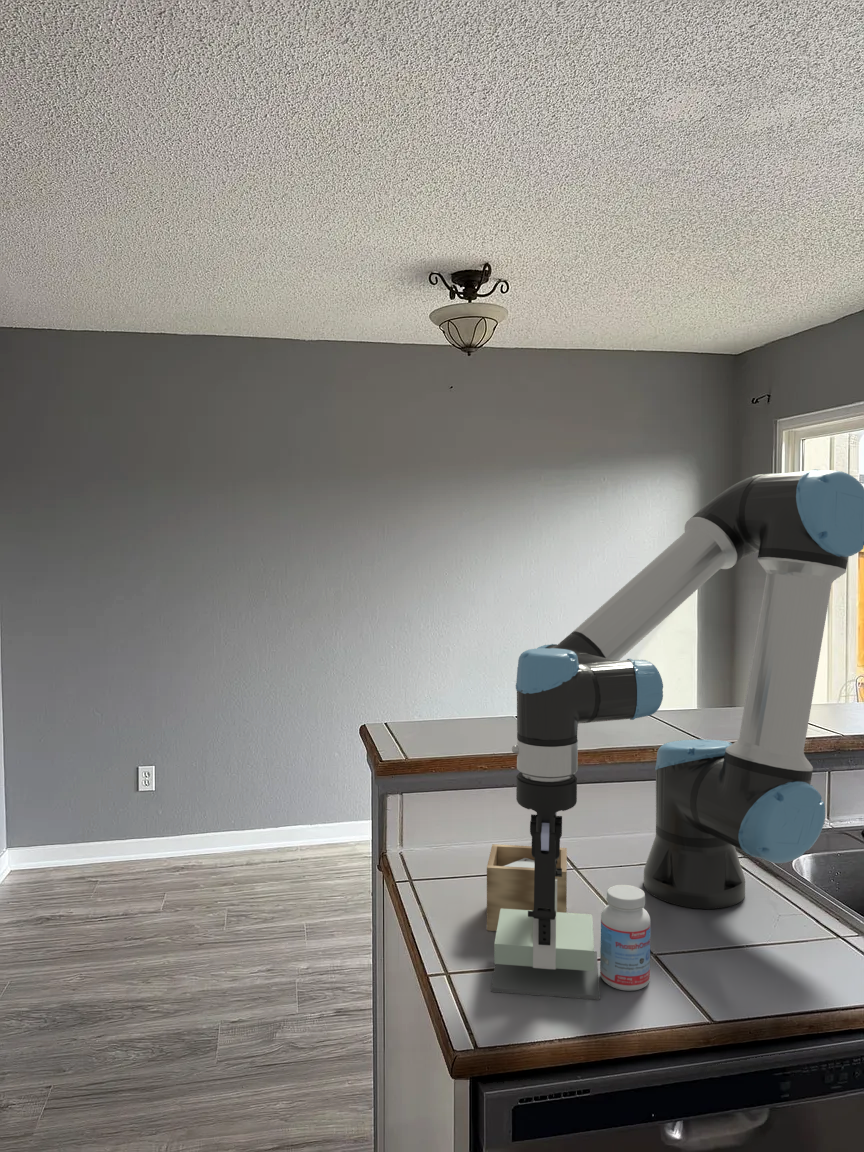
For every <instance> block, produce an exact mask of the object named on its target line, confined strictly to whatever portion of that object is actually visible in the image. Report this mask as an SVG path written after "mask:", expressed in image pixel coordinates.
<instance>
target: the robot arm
mask: <svg viewBox="0 0 864 1152" xmlns="http://www.w3.org/2000/svg"><path fill="white" fill-rule="evenodd" d="M863 549H864V486H863V483H861V482H860V481H859V480H858V479H857V478H855V477H854V476H853V475H851V474H849V473H847V472H844V471H841V470H825V469H822V470H821V469H816V468H815V469H810V470H803V471H794V472H791V471H789V472H781V473H762V474H756V475H753V476H750V477H747V478H744V479H743V480H741V481H739V482H737V483H735V484H733V485H731V486H730V487H728V488H727V489H725V490H724V491H723V492H720V494H718V495H716V496H715V497H714V498H713V499H712V500H710V501H709V502H708V503H706V504H705V505H704V506H703V507H701V508H700V509H699V510H698V511H697V512H696V513H695V514H694V515H692V517H690V518H689V519H688V520H687V521H686V522H685V525H684V532H683V533H682V534H681V535H680V536H679V537H677V538H676V540H674V541H673V542H672V543H671V544H670V545H669V546H668V547H666V548H665V550H663V551H662V552H661V553H660V554H658V555H657V556H656V557H655V558H654V559H653V560H652V561H650V562H649V564H647V565H646V566H645V567H644V568H643V569H642V570H641V571H640V572H638V573H637V574H636V575H635V576H634V577H633V578H631V580H629V581H628V582H627V583H626V584H625V585H624V586H622V587H621V588H620V589H619V590H618V591H617V592H616V593H615V594H613V595H612V596H611V597H610V598H609V599H608V600H607V601H605V602H604V604H601V606H600V607H598V608H597V610H596V611H594V612H593V613H592V614H591V615H590V616H589V617H587V619H585V620H584V621H583V622H582V623H581V624H580V625H579V626H577V627H576V628H575V629H574V630H573V631H571V633H569V634H568V635H567V636H566V637H565V638H564V639H563V640H561V641H560V642H559V643H558V644H553V643H551V644H544V645H541V646H540V645H539V647H537V648H531V649H526V650H525V651H523V652H522V653H520V655H519V657H518V659H517V670H516V671H517V672H516V683H515V691H516V739H517V741H516V744H517V745H512V748H511V752H512V753H514V754H517V756H516V769H517V771H519V773H518V774H517V775H516V793H515V794H516V802H517V803H518V805H520V806H521V807H522V808H524V809H527V810H532V811H534V812H536V814H531V813H530V822H529V834H530V836H531V846H532V852H531V853H532V856H533V858H535V867H534V910H533V911H528V917H533V968H542V969H556V912H557V878H555V877H562V868H556V864H557V859H558V858H559V856H560V848H561V838H562V835H563V816H562V815H558V814H557V813H558V812H565V811H568V810H571V809H573V808H574V807H575V806H576V804H577V802H578V801H577V800H578V778H577V776H576V775H575V774H577V771H578V767H579V765H578V761H579V760H578V759H579V757H578V753H579V751H578V748H579V747H578V744H579V742H578V741H579V740H578V730H579V729H578V727H579V726H578V725H579V724H588V723H597V722H610V721H611V722H612V721H624V720H630V721H633V720H635V719H640V718H644V717H650V716H652V715H653V714H655V713H656V712H657V711H658V710H659V709H660V706H661V705H662V703H663V698H664V694H663V693H664V691H663V688H664V682H663V679H662V676H661V673H660V671H659V669H658V667H656V665H655V664H653V663H652V662H651V661H648V660H646V659H632V658H627V659H625V660H622V658H623V657H625V656H626V655H627V654H628V653H629V652H631V650H632V649H633V648H635V647H636V646H637V645H638V644H639V643H640V642H641V641H642V640H644V638H646V637H647V636H648V635H649V634H650V633H651V632H652V631H653V630H654V629H655V628H656V627H658V626H659V625H660V624H661V623H662V622H663V621H664V620H665V619H666V618H668V617H669V616H670V615H671V614H672V613H673V612H674V611H675V610H676V609H677V608H678V607H680V606H681V605H682V604H683V603H684V602H685V601H686V600H687V599H689V597H691V596H692V595H693V594H694V593H695V592H696V591H697V590H698V589H700V587H702V586H703V585H704V584H705V583H706V582H707V581H708V580H709V579H711V578H712V577H713V575H715V574H716V573H717V572H718V571H719V570H721V569H722V570H729V569H731V568H733V566H735V565H736V564H737V563H738V562H740V560H742V559H743V558H746V557H748V556H751V555H754V554H757V562H758V563H759V564H760V566H761V567H762V569H763V570H764V571H765V581H764V587H763V593H762V600H761V604H760V611H759V617H758V623H757V629H756V633H755V634H756V635H755V642H754V646H753V653H752V658H751V663H750V664H751V665H750V670H749V677H748V683H747V689H746V694H745V701H744V706H743V712H742V719H741V724H740V730H739V734H738V735H739V737H738V739H737V740H736V741H734V742H733V743H732V742H730V741H727V740H721V739H720V740H719V739H706V738H705V739H682V740H674V741H669V742H666V743H664V744H661V746H660V747H659V748H658V749H657V752H656V760H655V761H656V762H655V768H654V770H655V836H654V840H653V841H652V842H653V843H652V846H651V848H650V851H649V854H648V857H647V859H646V862H645V866H644V867H643V886H644V888H645V890H646V891H647V892H648V893H649V894H650V895H652V896H654V897H655V898H657V899H659V900H662V901H664V902H666V903H669V904H672V905H676V906H681V907H686V908H693V909H704V910H705V909H707V910H711V909H723V908H724V909H725V908H728V907H733V906H735V905H738V904H739V903H740V902H742V901H743V900H744V899H745V897H746V878H745V874H744V871H743V868H742V866H741V861H740V858H739V855H738V853H737V849H736V848H738V849H740V850H742V851H743V852H744V853H745V854H747V855H749V856H751V857H753V858H760V859H762V860H765V861H767V862H770V863H774V864H785V863H790V862H793V861H795V860H797V859H799V858H801V857H802V856H803V855H804V854H805V852H806V851H809V850H810V849H811V848H812V847H813V846H814V844H815V843H816V841H818V839H819V837H820V835H821V833H822V830H823V828H824V824H825V819H826V807H825V806H826V805H825V802H824V801H823V800H822V799H823V798H822V795H821V793H820V792H819V791H818V790H817V789H816V788H815V786H813V785H812V784H811V782H812V777H813V770H814V767H813V765H812V764H811V762H810V761H809V759H807V756H806V755H805V752H804V751H805V747H806V745H805V744H806V739H807V735H808V734H807V733H808V728H809V722H810V716H811V710H812V704H813V698H814V692H815V686H816V679H817V672H818V668H819V662H820V655H821V650H822V643H823V637H824V632H825V627H826V619H827V615H828V614H827V612H828V609H829V601H830V596H831V590H832V584H833V583H834V582H835V581H836V580H837V579H839V578H840V577H841V576H843V575H844V574H846V573H847V567H848V561H849V558H850V557H852V556H854V555H856V554H858V553H860V552H861V551H862V550H863Z"/></svg>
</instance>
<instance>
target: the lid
mask: <svg viewBox="0 0 864 1152" xmlns="http://www.w3.org/2000/svg"><path fill="white" fill-rule="evenodd" d="M528 911H532V910H517V909H500V915H499V921H498V926H497V931H495V939H494V943H493V944H494V951H493V955H494V956H493V957H494V959H493V960H494V961H493V963H494V965H495V964H505V965H518V966H531V967H533V917H528ZM593 922H594V921H593V914H591V913H577V912H566V913H563V912H556V968H558V969H572V970H585V971H594V951H595V942H594V941H595V940H594V938H595V937H594V923H593Z"/></svg>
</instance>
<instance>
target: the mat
mask: <svg viewBox="0 0 864 1152" xmlns="http://www.w3.org/2000/svg"><path fill="white" fill-rule="evenodd" d="M491 981H492V982H491V986H490V992H493V993H494V992H495V993H505V994H518V995H519V994H521V995H531V996H532V995H533V996H534V995H535V996H545V997H555V998H557V997H558V998H573V999H584V1000H598V1001H600V999H601V995H600V982H599V981H600V979H599V964H598V951H596V950H594V971H585V970H572V969H558V968H556V969H542V968H533V967H531V966H518V965H505V964H494V968H493V974H492V980H491Z"/></svg>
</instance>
